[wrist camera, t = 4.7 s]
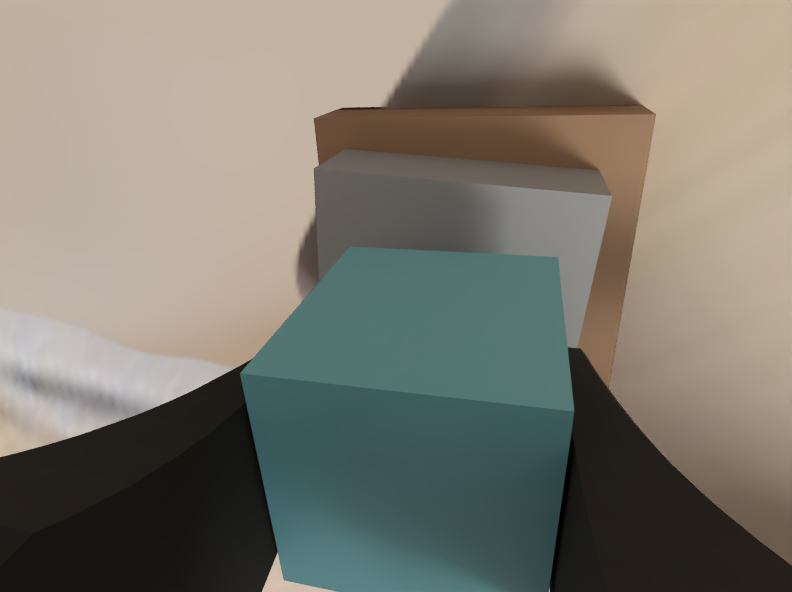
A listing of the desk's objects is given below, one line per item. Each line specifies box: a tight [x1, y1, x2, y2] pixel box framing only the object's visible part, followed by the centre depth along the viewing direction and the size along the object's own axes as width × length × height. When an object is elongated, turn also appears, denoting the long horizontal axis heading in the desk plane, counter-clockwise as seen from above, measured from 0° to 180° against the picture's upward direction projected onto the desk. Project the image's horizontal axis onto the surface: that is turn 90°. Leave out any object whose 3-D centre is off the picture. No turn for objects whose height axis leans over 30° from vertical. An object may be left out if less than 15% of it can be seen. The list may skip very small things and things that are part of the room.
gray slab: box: [314, 149, 612, 348], centre depth 15 cm, size 7×7×2 cm
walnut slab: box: [314, 105, 656, 388], centre depth 17 cm, size 9×9×2 cm
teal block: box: [240, 247, 574, 592], centre depth 10 cm, size 4×4×5 cm
